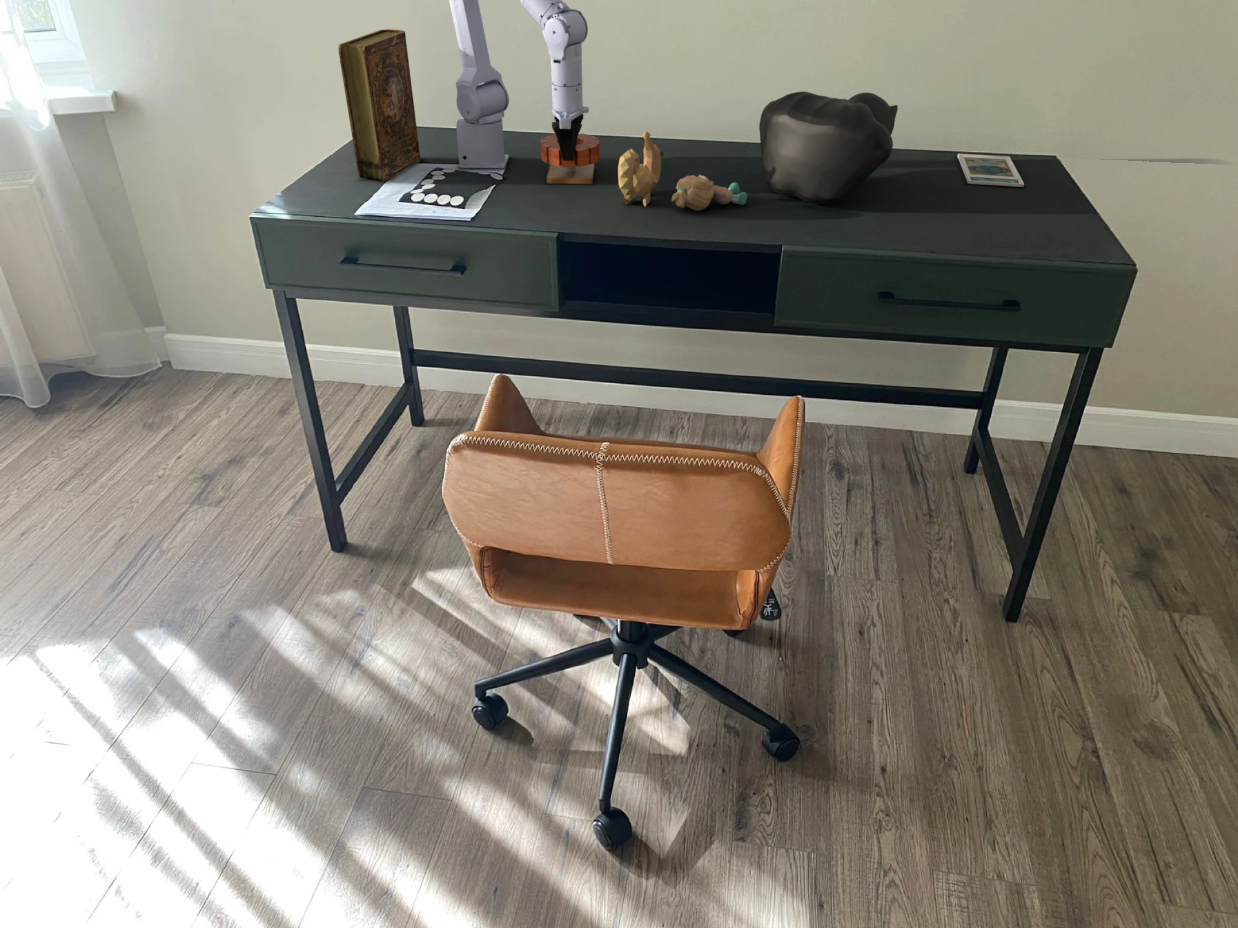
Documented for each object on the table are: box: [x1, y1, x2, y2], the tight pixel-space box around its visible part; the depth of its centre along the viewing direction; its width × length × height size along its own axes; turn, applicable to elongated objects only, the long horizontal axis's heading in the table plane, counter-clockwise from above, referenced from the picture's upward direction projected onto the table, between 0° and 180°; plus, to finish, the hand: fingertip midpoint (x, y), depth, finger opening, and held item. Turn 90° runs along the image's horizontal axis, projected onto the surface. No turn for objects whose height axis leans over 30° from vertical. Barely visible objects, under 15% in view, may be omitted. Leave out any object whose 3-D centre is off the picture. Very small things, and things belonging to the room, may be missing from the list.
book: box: [337, 28, 421, 182], centre depth 179 cm, size 16×6×25 cm, turn 161°
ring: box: [539, 132, 601, 167], centre depth 180 cm, size 12×12×3 cm
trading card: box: [957, 153, 1025, 188], centre depth 186 cm, size 11×1×18 cm
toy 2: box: [671, 174, 748, 212], centre depth 168 cm, size 8×7×15 cm
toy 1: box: [617, 131, 664, 207], centre depth 168 cm, size 5×12×20 cm
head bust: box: [758, 91, 899, 205], centre depth 174 cm, size 28×20×30 cm
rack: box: [546, 163, 595, 185], centre depth 181 cm, size 9×9×6 cm
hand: (568, 157), depth 177 cm, fingers closed on ring, 4 cm apart
